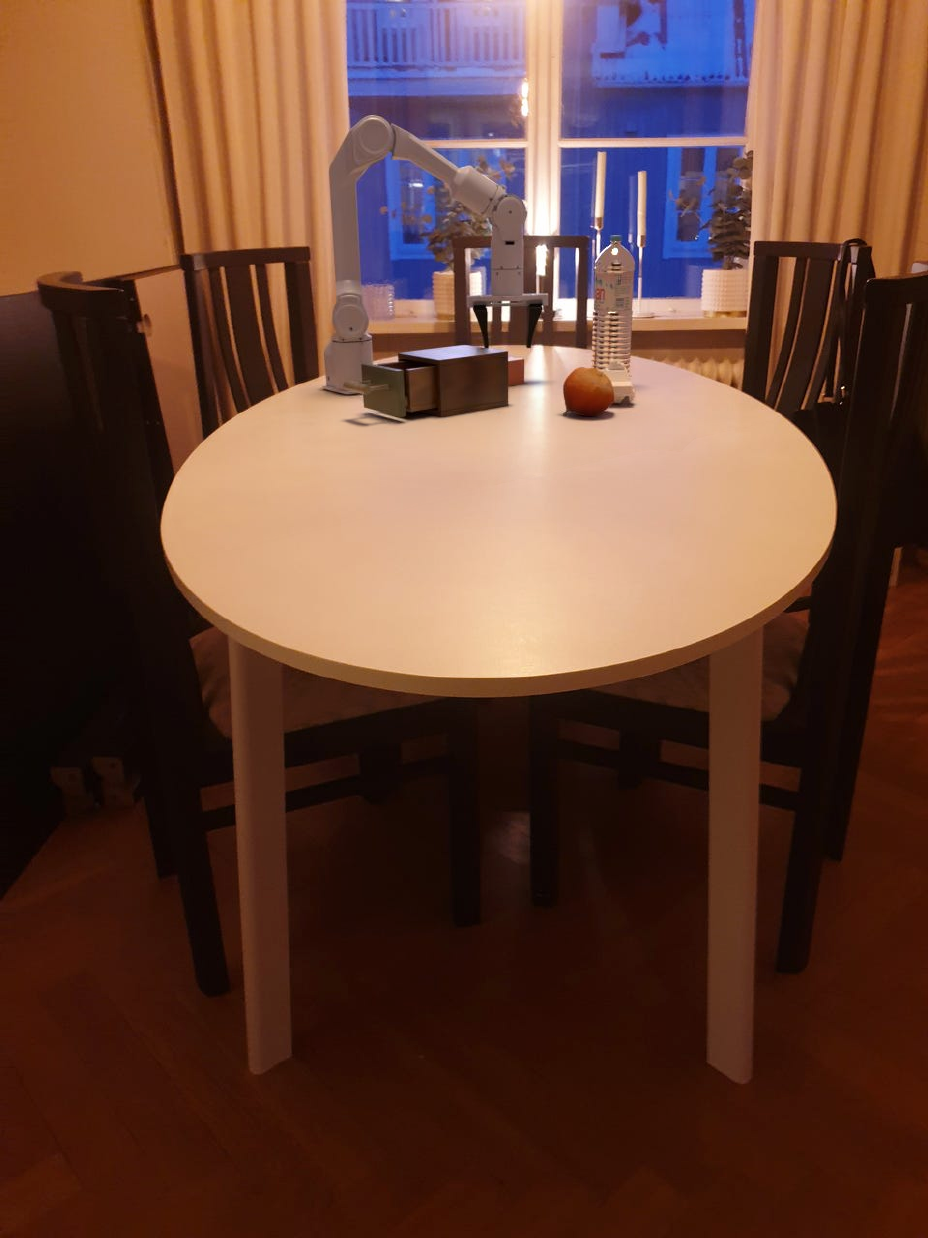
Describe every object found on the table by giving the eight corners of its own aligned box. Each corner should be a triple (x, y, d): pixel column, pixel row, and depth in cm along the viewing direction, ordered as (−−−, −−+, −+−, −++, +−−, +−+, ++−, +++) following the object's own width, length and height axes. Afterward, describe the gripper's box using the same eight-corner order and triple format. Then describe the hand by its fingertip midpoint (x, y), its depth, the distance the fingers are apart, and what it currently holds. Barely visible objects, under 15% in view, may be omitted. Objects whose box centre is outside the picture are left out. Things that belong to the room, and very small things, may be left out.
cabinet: (441, 416, 140) (439, 359, 137) (400, 406, 149) (397, 352, 145) (508, 405, 148) (508, 351, 144) (465, 396, 156) (464, 344, 153)
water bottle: (590, 383, 165) (595, 235, 155) (628, 383, 164) (635, 234, 154) (590, 390, 159) (595, 236, 148) (629, 390, 158) (637, 235, 148)
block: (490, 383, 168) (490, 358, 166) (509, 380, 170) (509, 356, 168) (505, 386, 165) (505, 361, 163) (524, 383, 167) (524, 358, 165)
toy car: (630, 394, 154) (632, 353, 151) (636, 407, 143) (638, 363, 141) (594, 394, 155) (596, 353, 152) (598, 407, 144) (599, 364, 141)
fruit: (561, 397, 144) (587, 354, 140) (601, 426, 143) (628, 383, 139) (543, 406, 138) (569, 362, 133) (584, 436, 137) (612, 392, 132)
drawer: (373, 421, 134) (370, 374, 131) (338, 411, 141) (334, 367, 139) (465, 406, 143) (464, 362, 140) (427, 397, 151) (426, 355, 148)
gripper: (467, 270, 155) (469, 352, 161) (550, 268, 156) (549, 349, 161) (465, 268, 162) (467, 347, 167) (545, 266, 162) (544, 344, 168)
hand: (507, 348), depth 165 cm, fingers open, 7 cm apart
